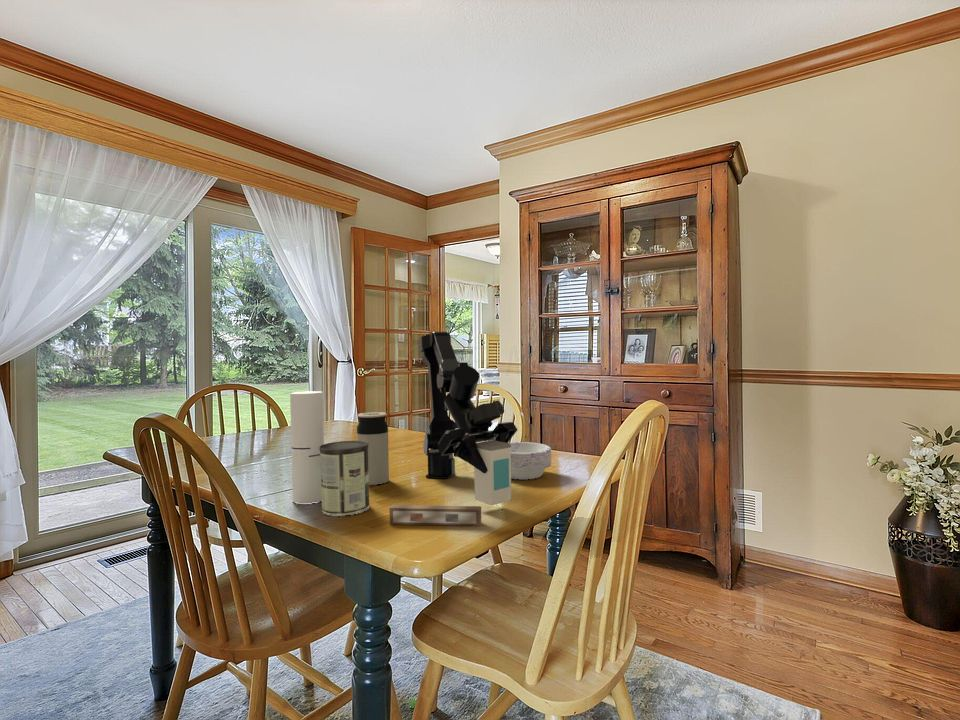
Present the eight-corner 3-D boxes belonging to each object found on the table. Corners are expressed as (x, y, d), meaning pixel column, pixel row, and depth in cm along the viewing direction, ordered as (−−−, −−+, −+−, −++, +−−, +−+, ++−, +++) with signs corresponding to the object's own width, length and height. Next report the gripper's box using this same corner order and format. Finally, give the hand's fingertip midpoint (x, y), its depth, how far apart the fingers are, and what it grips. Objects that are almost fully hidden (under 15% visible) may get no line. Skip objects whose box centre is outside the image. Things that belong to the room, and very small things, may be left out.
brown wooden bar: (388, 525, 98) (388, 508, 98) (392, 520, 101) (392, 504, 101) (480, 527, 96) (479, 510, 96) (481, 522, 99) (481, 506, 99)
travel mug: (363, 487, 126) (361, 416, 126) (354, 481, 133) (352, 413, 132) (393, 483, 130) (392, 414, 130) (383, 476, 137) (381, 411, 136)
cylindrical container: (294, 497, 119) (292, 391, 118) (326, 494, 120) (323, 390, 120) (290, 506, 112) (288, 394, 111) (323, 503, 113) (321, 393, 113)
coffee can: (342, 500, 116) (340, 439, 115) (379, 505, 111) (378, 441, 111) (310, 513, 106) (308, 447, 106) (349, 519, 102) (347, 450, 102)
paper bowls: (546, 484, 126) (546, 453, 126) (488, 481, 130) (488, 451, 130) (555, 470, 140) (555, 442, 140) (503, 468, 145) (502, 440, 145)
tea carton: (474, 499, 107) (473, 443, 106) (494, 494, 110) (493, 440, 110) (492, 505, 102) (491, 447, 102) (511, 500, 106) (511, 443, 105)
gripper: (444, 391, 103) (478, 453, 95) (511, 386, 115) (547, 440, 106) (424, 425, 109) (454, 486, 101) (489, 417, 121) (522, 471, 113)
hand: (496, 469), depth 105 cm, fingers closed on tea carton, 5 cm apart
